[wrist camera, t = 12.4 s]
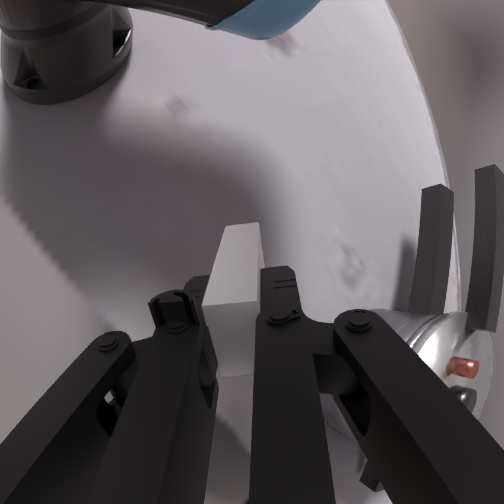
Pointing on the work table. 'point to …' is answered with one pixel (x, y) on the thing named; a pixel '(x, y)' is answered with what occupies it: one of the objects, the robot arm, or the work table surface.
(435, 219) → the pot
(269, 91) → the work table surface
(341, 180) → the work table surface
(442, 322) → the lid
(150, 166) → the work table surface
